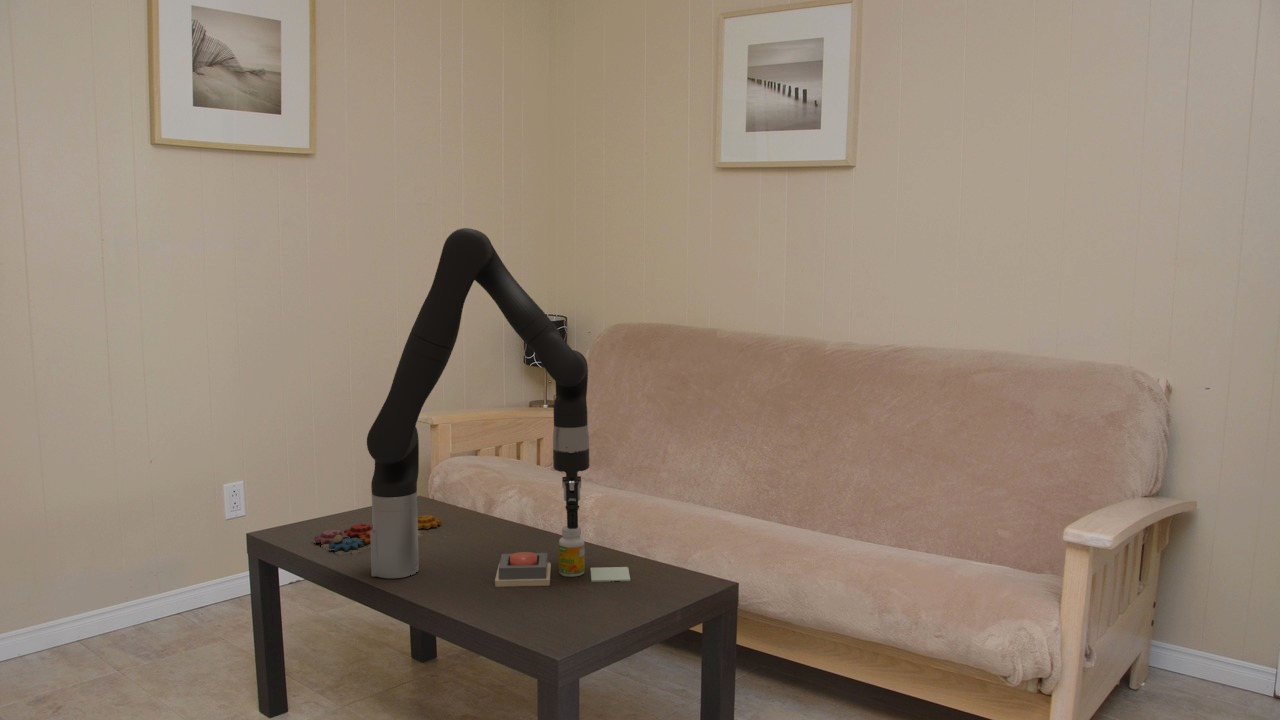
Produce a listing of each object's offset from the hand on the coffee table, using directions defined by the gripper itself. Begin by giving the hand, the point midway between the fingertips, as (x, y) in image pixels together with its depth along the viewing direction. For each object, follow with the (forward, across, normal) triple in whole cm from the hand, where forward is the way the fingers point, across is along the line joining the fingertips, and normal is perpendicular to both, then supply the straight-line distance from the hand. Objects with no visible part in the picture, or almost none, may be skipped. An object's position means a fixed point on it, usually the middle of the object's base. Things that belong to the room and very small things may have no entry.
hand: (572, 522), depth 201 cm
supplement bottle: (+11, 0, 0) cm, 11 cm away
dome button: (+9, +2, -10) cm, 14 cm away
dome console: (+11, +2, -10) cm, 15 cm away
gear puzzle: (+11, -30, -45) cm, 55 cm away
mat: (+11, +2, +8) cm, 14 cm away
